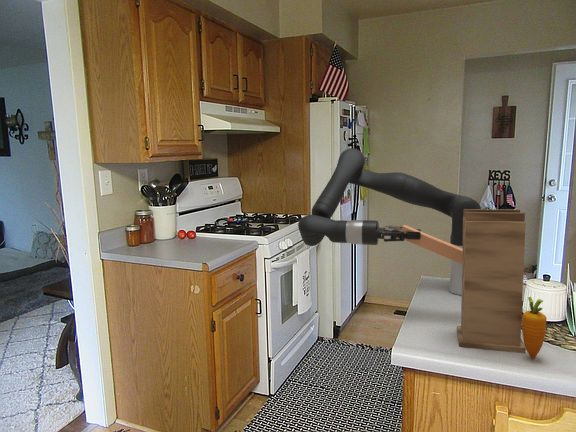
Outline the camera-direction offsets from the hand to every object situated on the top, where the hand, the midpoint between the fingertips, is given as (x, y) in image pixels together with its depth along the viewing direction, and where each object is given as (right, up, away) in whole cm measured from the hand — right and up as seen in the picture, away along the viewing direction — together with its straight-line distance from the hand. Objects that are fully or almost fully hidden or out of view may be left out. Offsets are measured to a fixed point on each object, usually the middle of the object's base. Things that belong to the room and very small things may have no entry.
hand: (420, 234), depth 127 cm
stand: (+13, -27, -15) cm, 34 cm away
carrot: (+19, -28, -25) cm, 42 cm away
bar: (+4, -5, -1) cm, 6 cm away
